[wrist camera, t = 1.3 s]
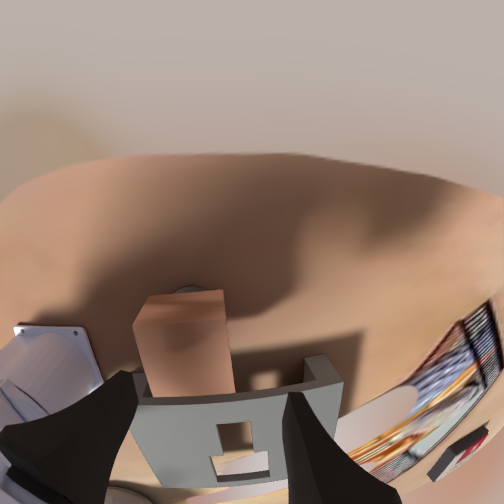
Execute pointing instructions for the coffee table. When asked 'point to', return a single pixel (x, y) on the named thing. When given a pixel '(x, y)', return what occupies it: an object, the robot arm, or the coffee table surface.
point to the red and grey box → (457, 454)
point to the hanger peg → (185, 343)
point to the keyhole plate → (222, 412)
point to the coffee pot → (124, 496)
